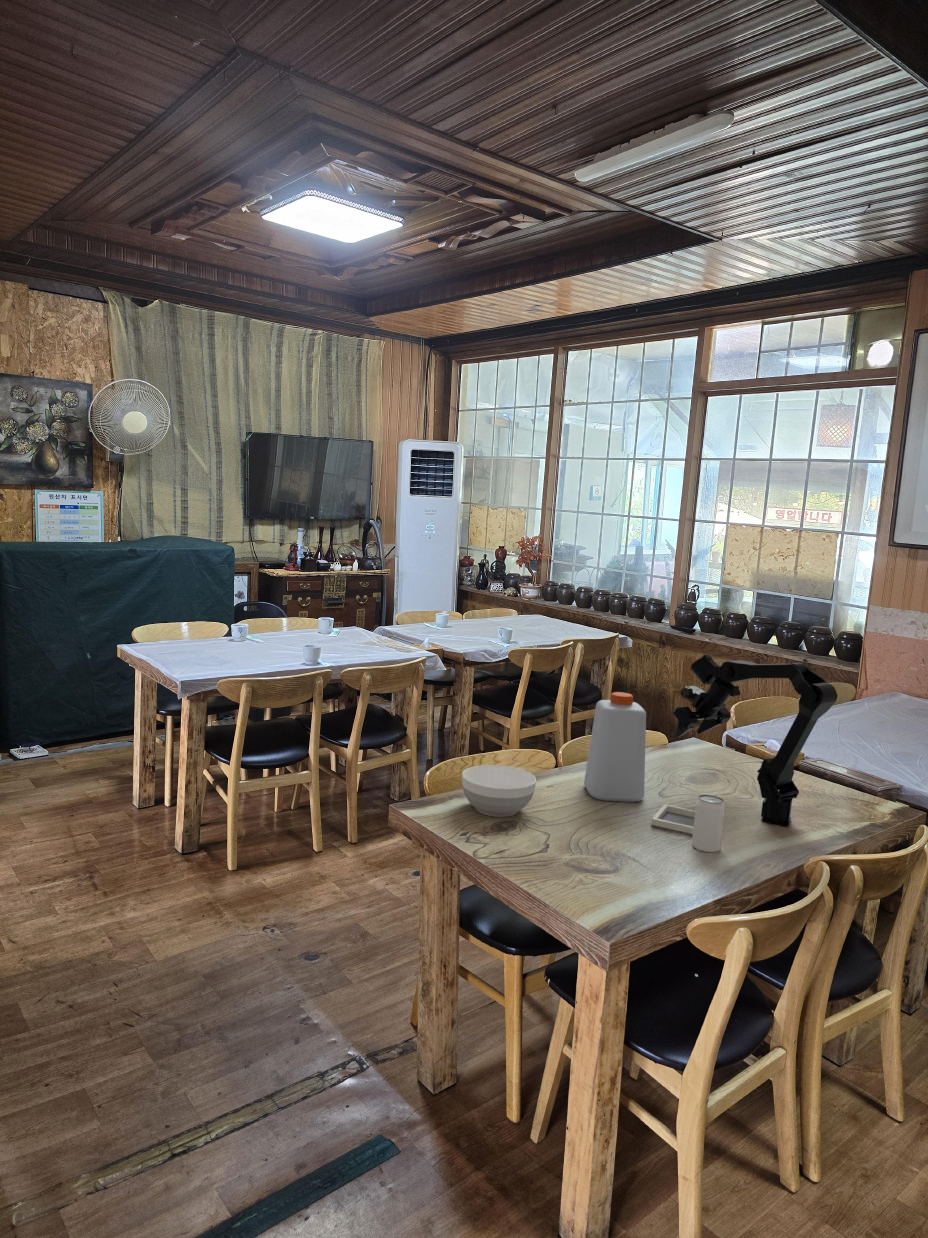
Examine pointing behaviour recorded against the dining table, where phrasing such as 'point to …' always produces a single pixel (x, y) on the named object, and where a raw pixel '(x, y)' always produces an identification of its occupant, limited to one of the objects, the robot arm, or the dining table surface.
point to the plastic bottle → (617, 750)
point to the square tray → (674, 819)
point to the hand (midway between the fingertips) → (687, 734)
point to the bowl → (498, 789)
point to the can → (708, 823)
